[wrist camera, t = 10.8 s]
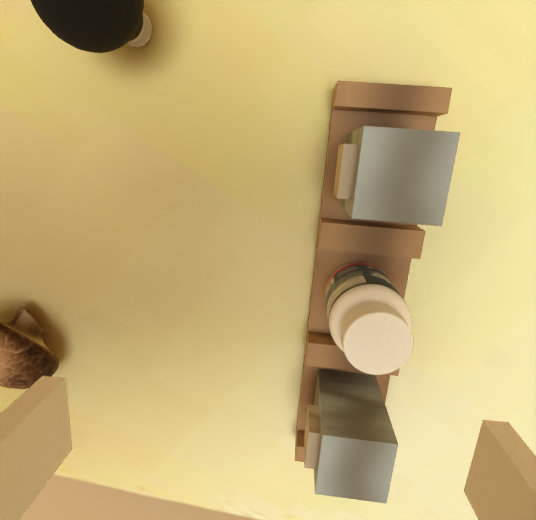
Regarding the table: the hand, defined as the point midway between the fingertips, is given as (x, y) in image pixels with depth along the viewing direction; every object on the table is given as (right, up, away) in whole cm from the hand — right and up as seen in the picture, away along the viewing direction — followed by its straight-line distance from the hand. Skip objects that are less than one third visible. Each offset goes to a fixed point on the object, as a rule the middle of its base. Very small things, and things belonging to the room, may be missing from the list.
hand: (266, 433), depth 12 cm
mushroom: (-22, -2, +24) cm, 32 cm away
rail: (+7, +3, +19) cm, 21 cm away
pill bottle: (+7, +3, +18) cm, 20 cm away
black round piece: (-9, +22, +16) cm, 29 cm away
